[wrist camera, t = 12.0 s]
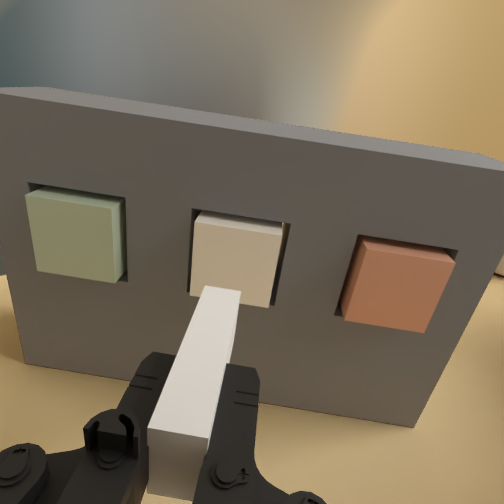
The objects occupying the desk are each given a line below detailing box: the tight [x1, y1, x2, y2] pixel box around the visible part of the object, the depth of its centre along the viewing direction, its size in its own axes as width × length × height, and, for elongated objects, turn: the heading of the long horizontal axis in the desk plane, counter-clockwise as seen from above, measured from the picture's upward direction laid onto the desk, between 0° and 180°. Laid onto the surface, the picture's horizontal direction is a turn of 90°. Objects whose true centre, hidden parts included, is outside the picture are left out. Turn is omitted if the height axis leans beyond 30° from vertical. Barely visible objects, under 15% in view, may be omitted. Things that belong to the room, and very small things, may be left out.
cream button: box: [190, 210, 282, 308], centre depth 21 cm, size 5×6×5 cm
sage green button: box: [25, 185, 128, 283], centre depth 22 cm, size 5×6×5 cm
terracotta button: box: [339, 234, 456, 333], centre depth 21 cm, size 5×6×5 cm
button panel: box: [0, 87, 504, 428], centre depth 23 cm, size 28×6×18 cm, turn 85°
